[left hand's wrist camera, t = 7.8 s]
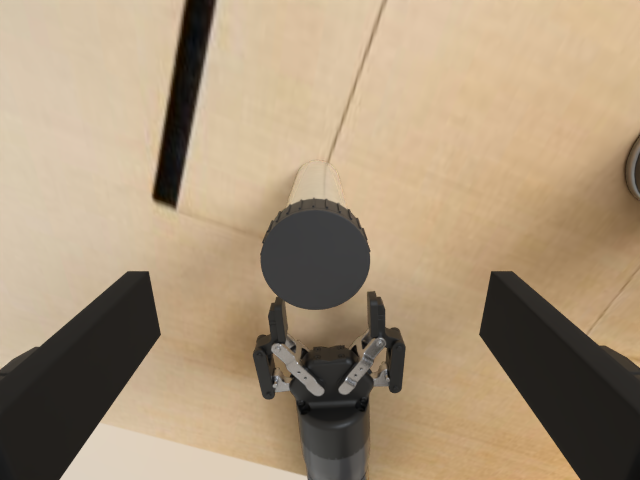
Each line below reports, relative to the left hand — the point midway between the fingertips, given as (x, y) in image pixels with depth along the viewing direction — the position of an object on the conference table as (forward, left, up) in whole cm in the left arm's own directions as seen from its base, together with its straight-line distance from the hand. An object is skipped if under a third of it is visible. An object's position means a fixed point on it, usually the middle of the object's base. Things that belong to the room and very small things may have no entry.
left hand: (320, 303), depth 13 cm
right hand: (+8, -5, -17) cm, 19 cm away
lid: (0, 0, -4) cm, 4 cm away
